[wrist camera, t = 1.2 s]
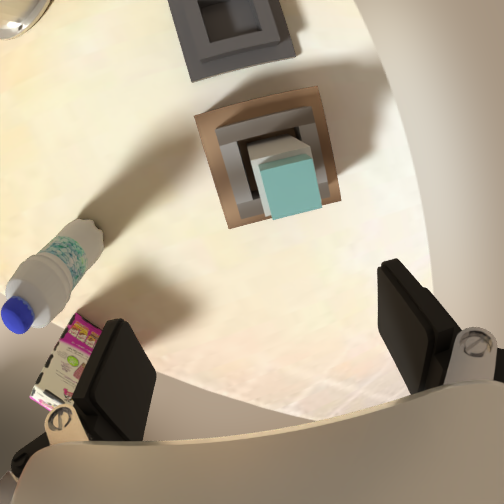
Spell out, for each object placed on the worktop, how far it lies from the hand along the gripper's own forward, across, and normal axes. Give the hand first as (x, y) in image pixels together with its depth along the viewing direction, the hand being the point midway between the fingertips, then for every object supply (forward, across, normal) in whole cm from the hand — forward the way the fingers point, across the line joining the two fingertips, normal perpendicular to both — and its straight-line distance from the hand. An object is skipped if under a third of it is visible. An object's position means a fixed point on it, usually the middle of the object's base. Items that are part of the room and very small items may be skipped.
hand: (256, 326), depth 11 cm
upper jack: (+29, -3, -2) cm, 29 cm away
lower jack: (+29, -3, -18) cm, 34 cm away
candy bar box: (+29, +30, +20) cm, 47 cm away
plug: (+22, -3, -2) cm, 22 cm away
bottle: (+29, +23, +3) cm, 37 cm away
